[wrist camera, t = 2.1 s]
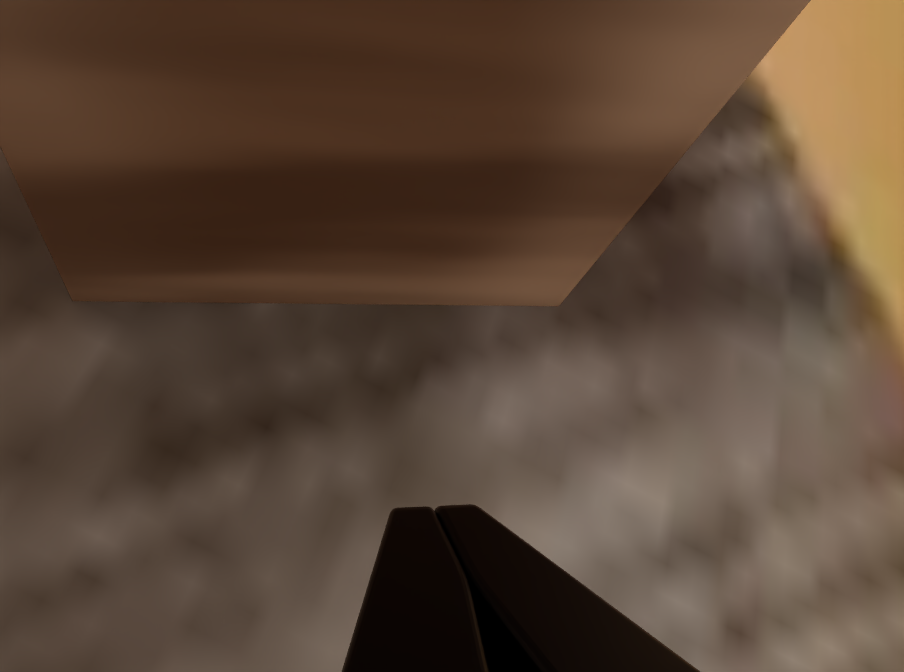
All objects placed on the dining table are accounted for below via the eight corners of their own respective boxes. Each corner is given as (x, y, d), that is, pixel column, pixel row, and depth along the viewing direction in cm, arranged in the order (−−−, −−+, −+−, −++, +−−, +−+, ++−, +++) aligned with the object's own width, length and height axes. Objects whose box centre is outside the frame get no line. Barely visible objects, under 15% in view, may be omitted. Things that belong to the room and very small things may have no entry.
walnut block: (558, 306, 19) (911, -123, 9) (72, 301, 16) (-205, -292, 6) (536, 153, 20) (817, -364, 10) (87, 128, 18) (-120, -576, 8)
